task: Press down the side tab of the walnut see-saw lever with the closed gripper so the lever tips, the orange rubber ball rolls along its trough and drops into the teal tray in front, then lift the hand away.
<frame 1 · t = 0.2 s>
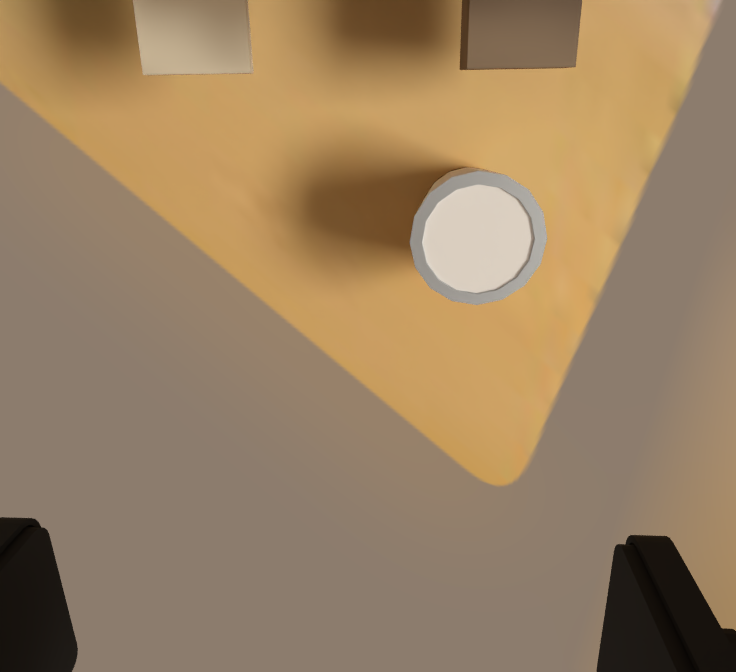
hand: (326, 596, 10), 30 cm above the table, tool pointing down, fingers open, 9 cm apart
white cup: (467, 214, 38), on the table
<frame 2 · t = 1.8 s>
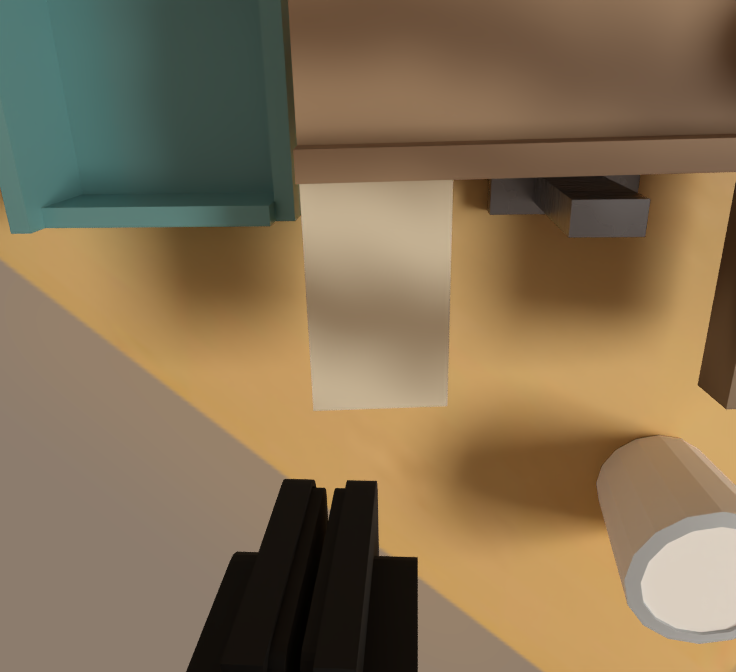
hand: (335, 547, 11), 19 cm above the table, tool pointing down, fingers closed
lever stand: (570, 59, 25), on the table
white cup: (651, 480, 32), on the table
teal tray: (172, 70, 27), on the table
walnut lever: (615, 197, 20), point 7 cm above the table, hinge at -6.0°, touching orange ball
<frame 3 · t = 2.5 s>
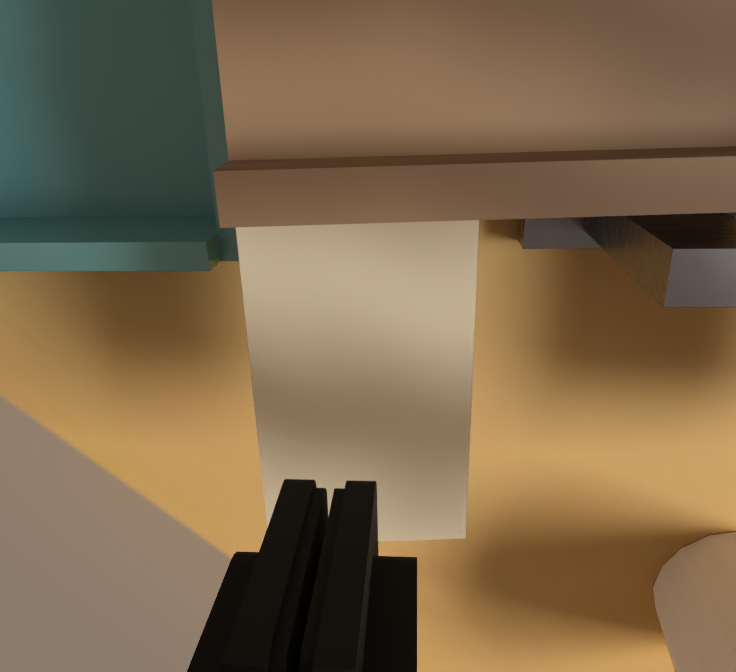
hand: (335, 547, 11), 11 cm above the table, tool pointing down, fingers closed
lever stand: (641, 28, 18), on the table
white cup: (725, 585, 25), on the table
teal tray: (78, 46, 19), on the table
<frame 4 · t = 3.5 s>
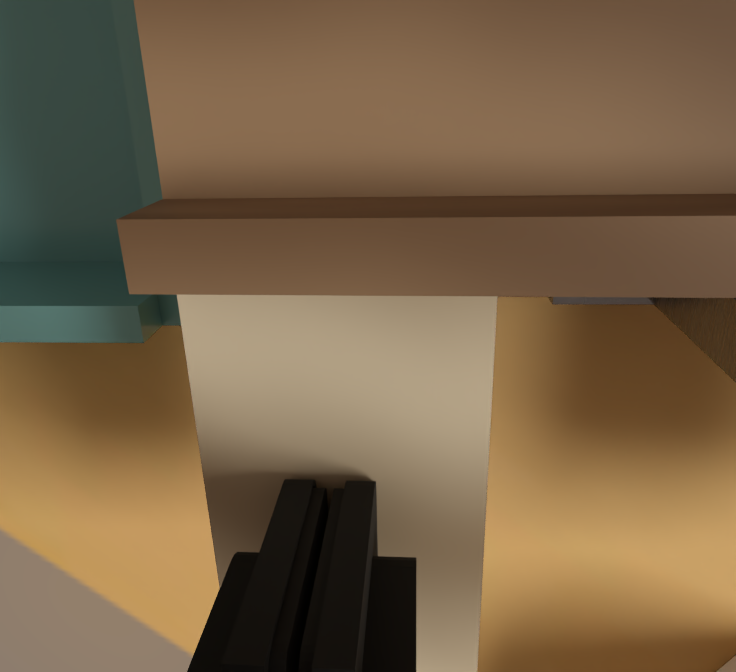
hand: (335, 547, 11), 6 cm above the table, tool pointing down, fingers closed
lever stand: (709, 24, 13), on the table
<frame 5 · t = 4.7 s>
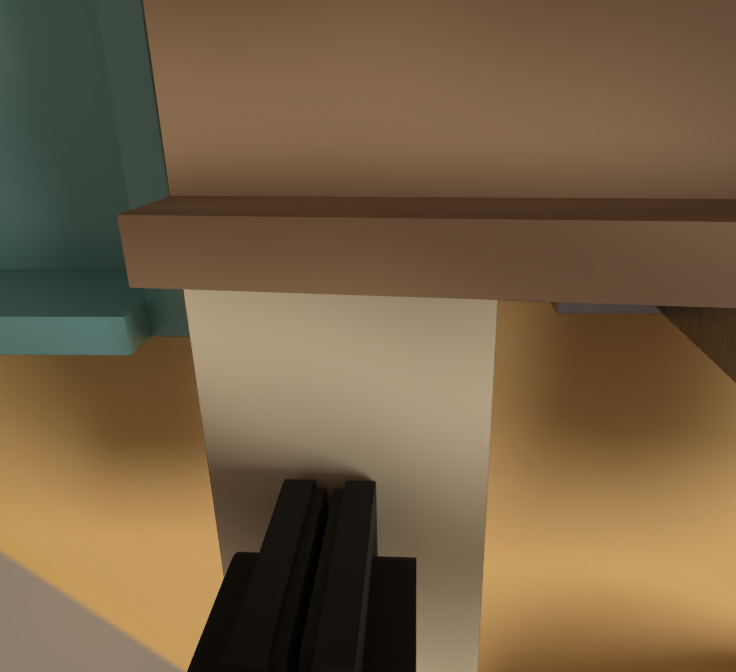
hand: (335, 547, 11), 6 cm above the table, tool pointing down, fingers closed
lever stand: (721, 22, 13), on the table
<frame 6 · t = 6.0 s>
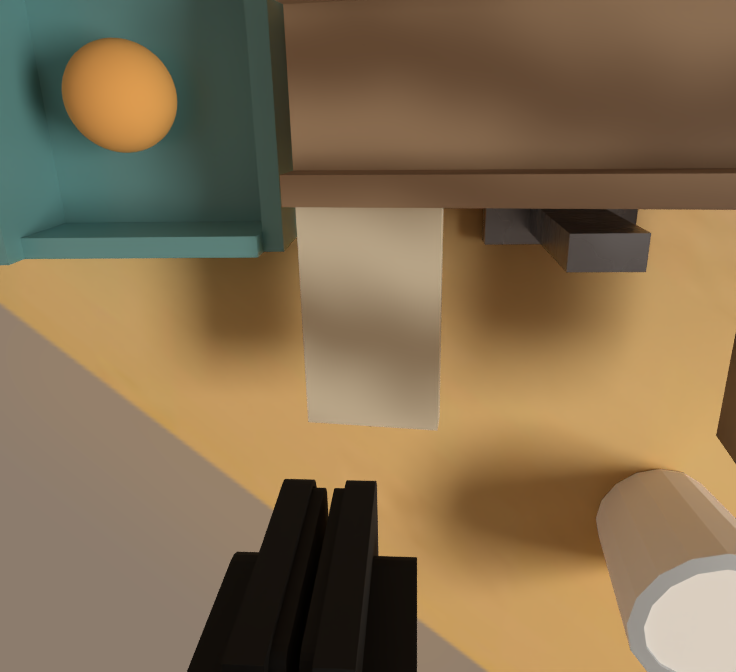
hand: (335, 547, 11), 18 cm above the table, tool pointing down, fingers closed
orange ball: (121, 96, 23), point 3 cm above the table, touching teal tray
lever stand: (565, 87, 25), on the table
white cup: (652, 515, 31), on the table
teal tray: (158, 97, 26), on the table
walnut lever: (603, 231, 19), point 7 cm above the table, hinge at 6.2°
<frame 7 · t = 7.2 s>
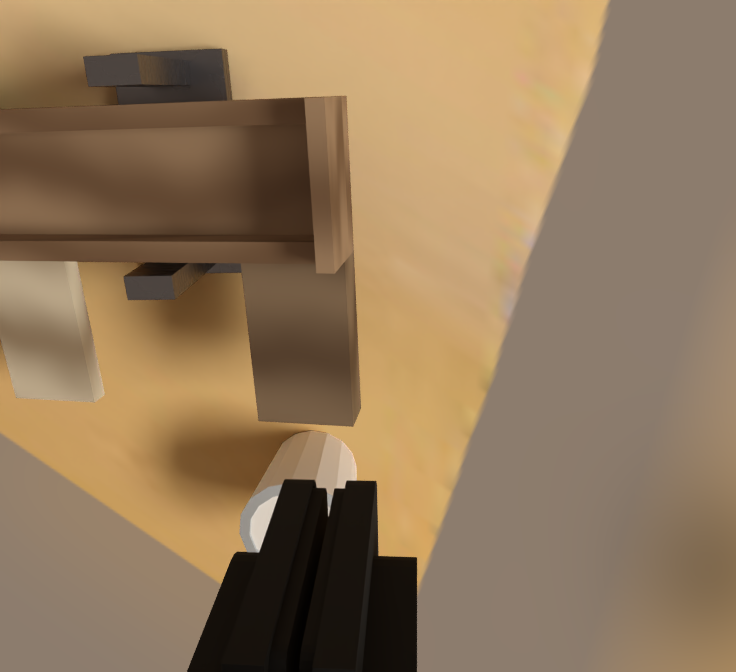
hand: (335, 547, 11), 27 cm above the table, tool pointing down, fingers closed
lever stand: (187, 167, 36), on the table
white cup: (315, 465, 43), on the table
walnut lever: (144, 274, 31), point 7 cm above the table, hinge at 6.2°
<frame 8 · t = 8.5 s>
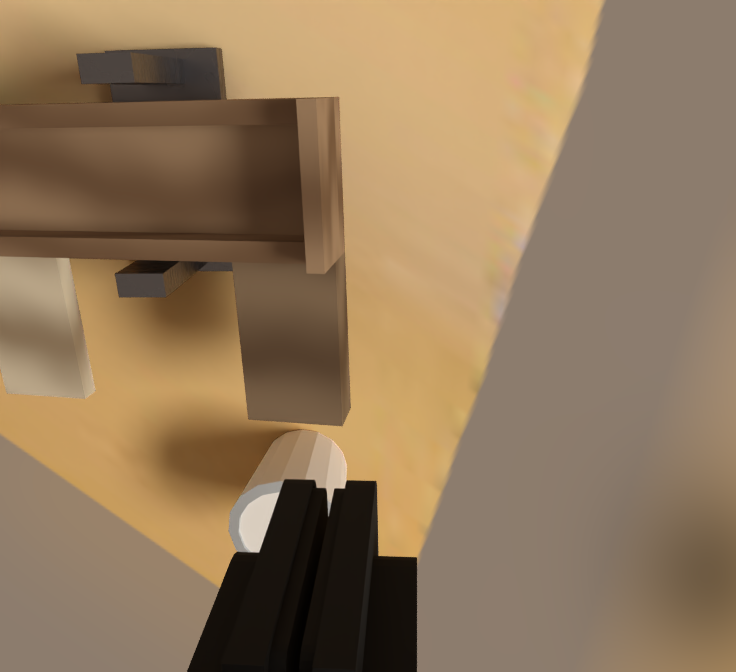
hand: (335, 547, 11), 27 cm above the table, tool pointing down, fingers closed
lever stand: (181, 165, 36), on the table
white cup: (306, 464, 43), on the table
walnut lever: (136, 272, 31), point 7 cm above the table, hinge at 6.2°
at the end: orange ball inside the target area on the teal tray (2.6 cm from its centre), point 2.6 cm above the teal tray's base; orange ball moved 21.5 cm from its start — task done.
